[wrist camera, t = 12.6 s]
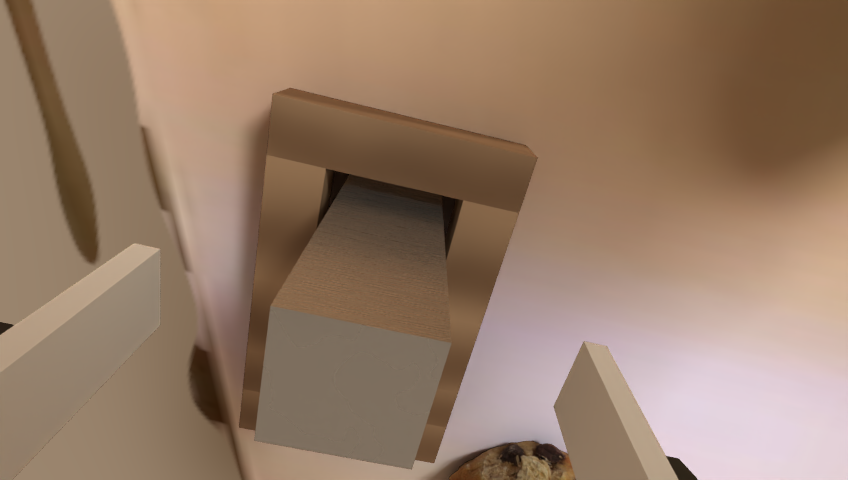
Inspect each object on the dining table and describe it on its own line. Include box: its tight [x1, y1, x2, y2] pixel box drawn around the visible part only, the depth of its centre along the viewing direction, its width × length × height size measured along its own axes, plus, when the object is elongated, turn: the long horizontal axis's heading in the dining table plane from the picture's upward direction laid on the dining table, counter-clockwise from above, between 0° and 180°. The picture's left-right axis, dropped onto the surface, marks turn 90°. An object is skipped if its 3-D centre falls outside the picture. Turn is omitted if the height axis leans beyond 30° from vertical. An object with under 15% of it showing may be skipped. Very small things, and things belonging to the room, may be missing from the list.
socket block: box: [239, 88, 537, 463], centre depth 23 cm, size 18×11×2 cm, turn 167°
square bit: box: [254, 174, 452, 469], centre depth 18 cm, size 4×4×12 cm
